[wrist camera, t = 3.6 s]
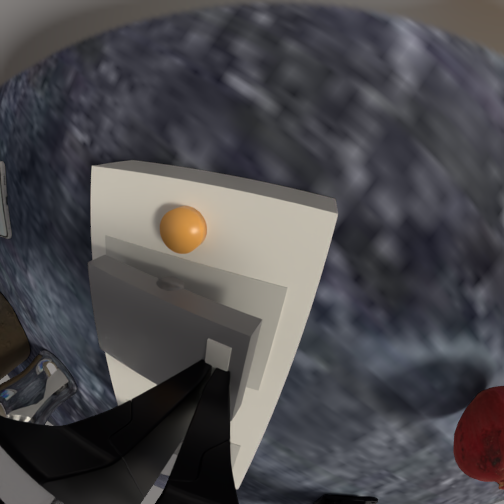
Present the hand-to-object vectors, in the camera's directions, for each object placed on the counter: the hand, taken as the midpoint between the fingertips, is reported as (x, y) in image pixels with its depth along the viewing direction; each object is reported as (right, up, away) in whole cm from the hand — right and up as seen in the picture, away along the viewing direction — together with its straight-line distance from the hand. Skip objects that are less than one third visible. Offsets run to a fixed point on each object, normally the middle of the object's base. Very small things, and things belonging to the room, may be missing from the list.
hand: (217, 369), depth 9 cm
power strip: (-3, -6, +8) cm, 11 cm away
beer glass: (-20, -9, +15) cm, 26 cm away
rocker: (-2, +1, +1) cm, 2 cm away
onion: (+17, -5, +3) cm, 18 cm away
